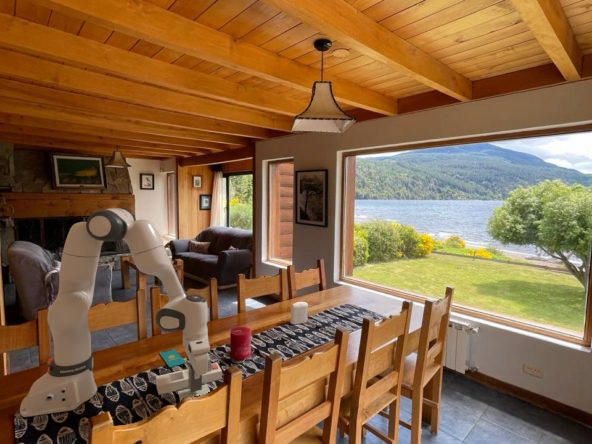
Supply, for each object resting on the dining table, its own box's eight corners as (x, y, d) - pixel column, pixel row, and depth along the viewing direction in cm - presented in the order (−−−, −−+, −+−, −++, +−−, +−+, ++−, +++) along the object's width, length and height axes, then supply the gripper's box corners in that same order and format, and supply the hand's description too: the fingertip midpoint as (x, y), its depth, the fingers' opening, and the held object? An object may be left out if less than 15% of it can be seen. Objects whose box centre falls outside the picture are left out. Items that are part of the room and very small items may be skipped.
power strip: (158, 394, 125) (158, 373, 124) (156, 384, 131) (156, 364, 130) (221, 378, 137) (222, 359, 136) (216, 370, 143) (217, 351, 142)
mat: (181, 403, 121) (181, 402, 121) (177, 392, 127) (177, 391, 127) (211, 394, 127) (211, 394, 127) (206, 385, 133) (206, 384, 133)
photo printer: (304, 320, 201) (305, 299, 199) (308, 322, 197) (309, 302, 195) (289, 322, 196) (290, 301, 195) (292, 325, 192) (293, 304, 191)
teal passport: (169, 367, 143) (158, 352, 155) (169, 369, 143) (158, 354, 155) (186, 362, 148) (174, 348, 159) (186, 364, 148) (174, 350, 159)
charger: (190, 392, 124) (191, 369, 123) (188, 386, 128) (188, 364, 127) (201, 389, 126) (202, 366, 125) (199, 383, 130) (199, 361, 128)
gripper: (180, 329, 132) (180, 362, 134) (192, 352, 114) (192, 391, 116) (197, 326, 135) (196, 359, 137) (211, 349, 117) (210, 386, 119)
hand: (195, 374), depth 126 cm, fingers closed on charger, 4 cm apart
